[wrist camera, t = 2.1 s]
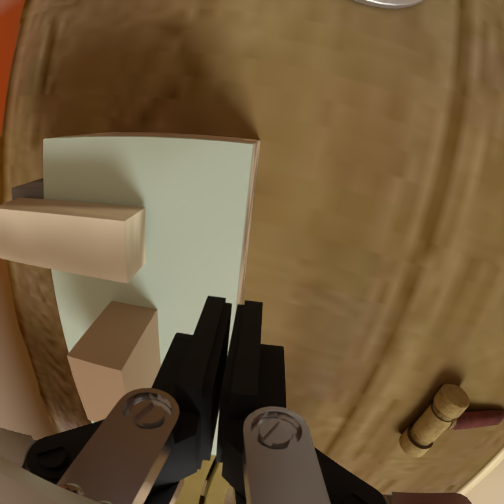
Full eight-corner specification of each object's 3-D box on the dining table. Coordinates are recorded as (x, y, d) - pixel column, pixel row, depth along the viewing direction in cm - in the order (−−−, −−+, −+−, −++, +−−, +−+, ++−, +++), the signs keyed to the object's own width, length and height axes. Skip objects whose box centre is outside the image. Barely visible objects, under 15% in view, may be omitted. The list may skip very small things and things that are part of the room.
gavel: (531, 402, 29) (493, 445, 32) (518, 384, 33) (482, 427, 37) (452, 407, 27) (404, 458, 30) (437, 381, 31) (394, 433, 34)
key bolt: (19, 197, 16) (-8, 208, 13) (145, 207, 15) (124, 221, 13) (23, 243, 17) (-1, 258, 14) (145, 262, 16) (127, 283, 14)
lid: (55, 137, 16) (-26, 150, 9) (254, 143, 15) (242, 150, 9) (97, 416, 24) (70, 469, 18) (223, 445, 24) (213, 509, 18)
